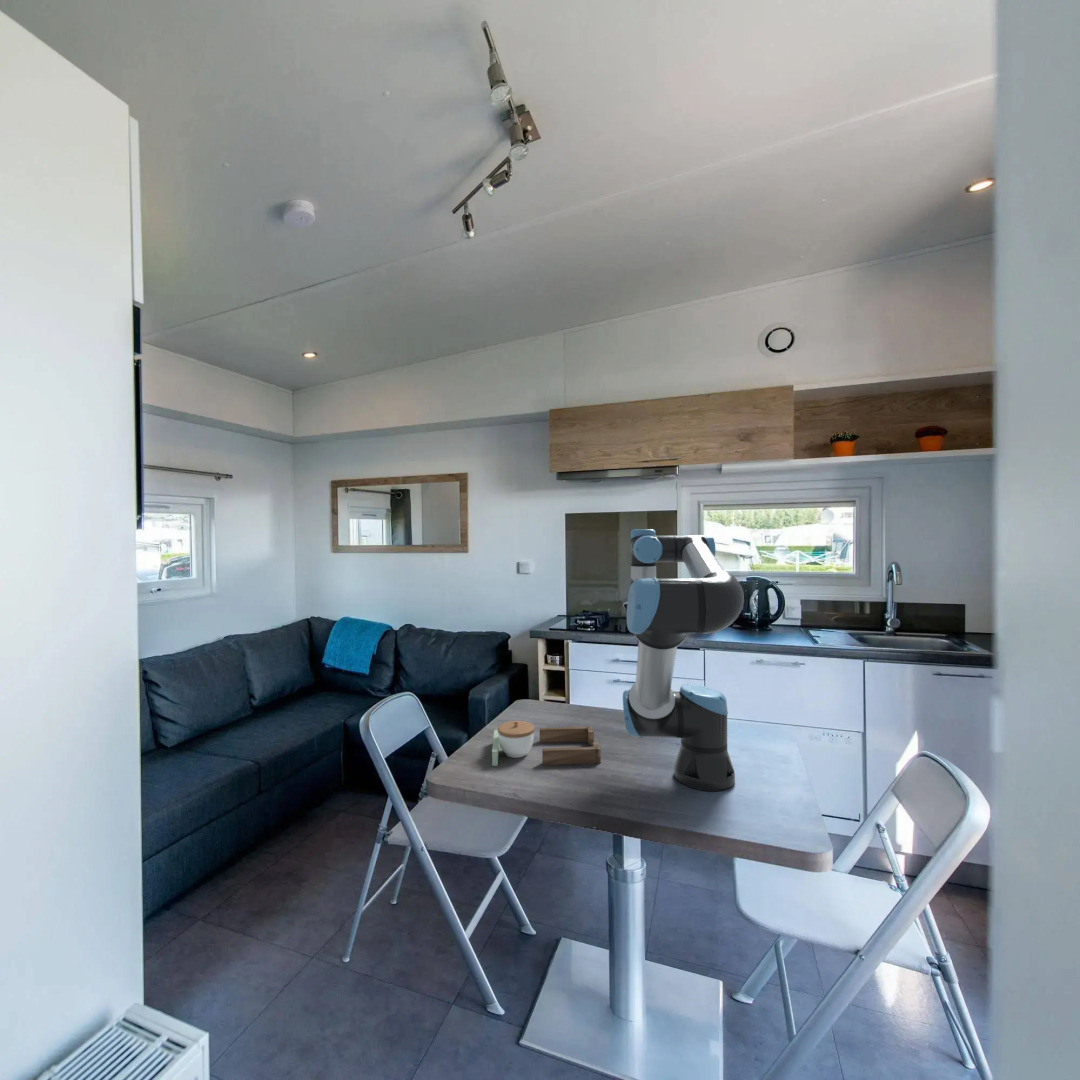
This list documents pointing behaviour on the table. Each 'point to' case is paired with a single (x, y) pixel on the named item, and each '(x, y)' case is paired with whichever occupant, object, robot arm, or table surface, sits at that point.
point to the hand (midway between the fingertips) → (644, 657)
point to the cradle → (569, 754)
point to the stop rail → (495, 749)
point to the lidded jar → (516, 738)
